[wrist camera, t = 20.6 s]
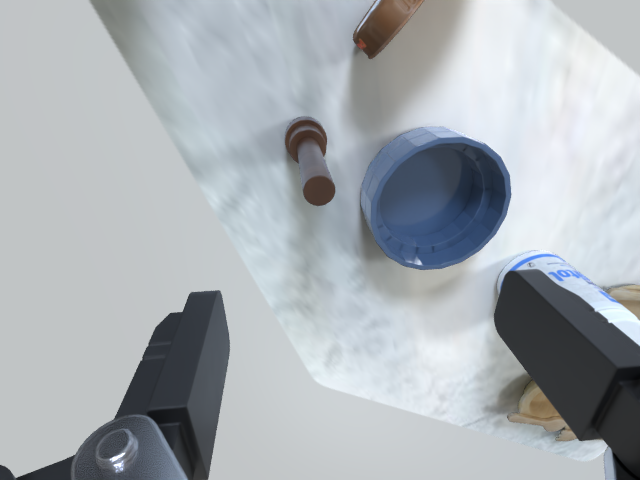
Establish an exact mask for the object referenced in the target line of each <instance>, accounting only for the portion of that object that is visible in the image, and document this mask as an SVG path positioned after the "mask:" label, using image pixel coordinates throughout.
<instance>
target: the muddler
mask: <svg viewBox="0 0 640 480" xmlns="http://www.w3.org/2000/svg"><path fill="white" fill-rule="evenodd" d="M285 145H286V148H287V151H288V152H289V154H290V155H291V156H292V158H293V159H294V160H295V161H296V162H297V163H298V164H299V168H300V174H301V181H302V188H303V194H304V197H305V199H306V200H307V201H308V202H309V203H310V204H313V205H316V206H321V205H325V204H327V203H329V202H330V201H331V200H332V199H333V197H334V195H335V185H334V183H333V180H332V178H331V175H330V172H329V170H328V167H327V165H326V162H325V160H324V155H325V153H326V145H327V136H326V133H325V131H324V129H323V127H322V125H321V124H320V123H319V122H318V121H317V120H315V119H314V118H311V117H305V116H304V117H299V118H296V119H295V120H293V121H292V122H291V123H290V124H289V125H288V127H287V129H286V132H285Z"/></svg>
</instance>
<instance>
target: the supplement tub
mask: <svg viewBox="0 0 640 480" xmlns="http://www.w3.org/2000/svg"><path fill="white" fill-rule="evenodd" d="M526 269H539V270H541V271H542V272H543V273H545V274H546V275H547V276H548V277H549V278H550V279H552V280H553V281H554V282H555V283H556V284H558V285H560V286H561V287H563V288H565V289H567V290H569V291H571V292H573V293H575V294H577V295H579V296H580V297H581V298H582V299H584V300H585V301H586V302H587V303H589V304H590V305H591V306H592V307H593V308H595V311H598V312H599V313H601V314H602V315H603V316H604V317H605V318H607V319H608V322H609V323H613V324H614V325H615V326H616V327H617V328H619V329H620V330H621V331H622V332H624V333H625V334H626V335H627V336H628V337H630V338H631V339H632V340H633V341H634V342H636V343H637V344H638V345H639V346H640V320H638V319H637V317H636V316H635V315H634V314H633V313H631V312H630V311H629V310H628V309H626V308H625V307H624V306H623V305H621V304H620V303H619V302H618V301H616V300H615V299H614V298H612V297H611V296H610V295H609V294H607V293H606V292H605V291H603V290H602V289H601V288H599V287H598V286H597V285H596V284H594V283H593V282H592V281H590V280H589V279H588V278H586V277H585V276H584V275H582V274H581V273H580V272H579V271H577V270H576V269H575V268H573V267H572V266H571V265H569V264H568V263H567V262H565V261H564V260H563V259H561V258H560V257H559V256H557V255H556V254H554V253H552V252H548V251H542V250H541V251H532V252H528V253H525V254H522V255H520V256H518V257H516V258H515V259H513V260H512V261H511V262H510V263H508V264H507V265H506V267H505V268H504V269H503V270H502V272H501V274H500V276H499V278H498V282H497V291H498V294H500V290H501V287H502V283H503V279H504V276H505V274H506V273H507V272H508V271H512V270H526Z"/></svg>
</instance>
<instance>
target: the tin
mask: <svg viewBox="0 0 640 480" xmlns="http://www.w3.org/2000/svg"><path fill="white" fill-rule="evenodd" d="M423 1H424V0H376V1H375V2H374V4H373V5H372V6H371V8H370V9H369V11H368V12H367V13H366V15H365V16H364V18H363V19H362V21H361V22H360V24H359V25H358V27H357V28H356V30H355V31H354V34H353V41H354V43H355V44H356V45H357V46H358V47H359V48H360V49H362V50H363V51H364V52H365V53H366V54H367V55H368V58H369V59H372V58H374V57H375V56H376V55H377V54H378V53H379V52H381V51H382V50H383V49H384V48H385V47H386V46H387V45H388V43H389V42H390V41H391V40H392V39H393V38H394V37H395V36H396V34H397V33H398V32H399V31H400V30H401V29H402V28H403V26H404V25H405V24H406V23H407V21H408V20H409V19H410V18H411V17H412V15H413V14H414V13H415V12H416V10H417V9H418V8H419V6H420V5H421V4H422V3H423Z"/></svg>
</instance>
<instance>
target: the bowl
mask: <svg viewBox="0 0 640 480" xmlns="http://www.w3.org/2000/svg"><path fill="white" fill-rule="evenodd" d="M510 198H511V186H510V175H509V173H508V171H507V169H506V167H505V165H504V163H503V161H502V159H501V157H500V156H499V155H498V154H497V153H496V152H494V151H493V150H492V149H491V148H490V147H488V146H487V145H486V144H485V143H483V142H480V141H478V140H476V139H474V138H472V137H470V136H468V135H465V134H463V133H461V132H458V131H455V130H452V129H449V128H446V127H421V128H418V129H415V130H412V131H410V132H407V133H404V134H402V135H400V136H398V137H397V138H396V139H394V140H393V141H392V142H390V143H389V144H388V145H386V146H385V147H384V148H382V149H381V150H380V152H379V153H378V154H377V156H376V157H375V158H374V160H373V161H372V162H371V164H370V165H369V167H368V170H367V172H366V175H365V178H364V181H363V183H362V188H361V207H362V210H363V213H364V217H365V220H366V222H367V224H368V226H369V228H370V231H371V233H372V235H373V237H374V239H375V241H376V243H377V244H378V245H379V246H380V248H381V249H382V250H383V251H384V253H385V254H386V255H387V256H388V257H389V258H391V259H393V260H394V261H396V262H398V263H399V264H401V265H403V266H406V267H411V268H415V269H420V270H429V269H442V268H445V267H448V266H451V265H454V264H457V263H460V262H462V261H464V260H466V259H467V258H469V257H470V256H472V255H474V254H475V253H477V252H478V251H480V250H481V249H482V248H483V247H484V246H485V245H486V244H487V243H488V242H489V241H490V240H491V239H492V238H493V237H494V236H495V234H496V233H497V231H498V229H499V228H500V226H501V224H502V222H503V221H504V219H505V217H506V215H507V211H508V207H509V203H510Z"/></svg>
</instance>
